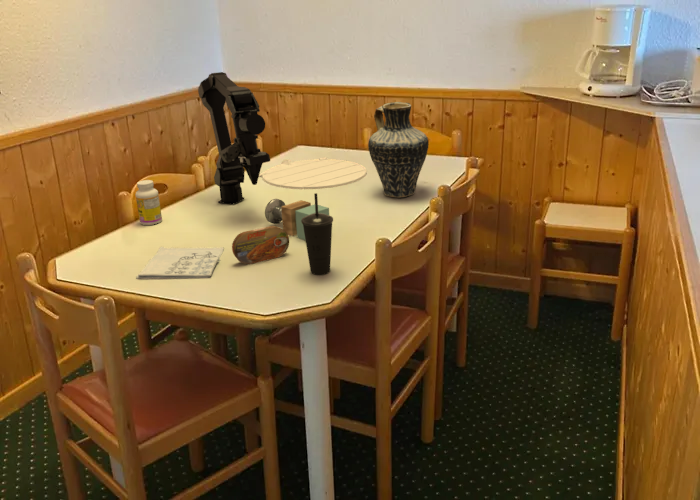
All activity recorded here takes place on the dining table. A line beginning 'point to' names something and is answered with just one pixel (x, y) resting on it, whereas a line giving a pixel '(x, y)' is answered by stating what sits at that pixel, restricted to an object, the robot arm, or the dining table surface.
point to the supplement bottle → (148, 203)
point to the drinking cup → (318, 240)
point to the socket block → (305, 212)
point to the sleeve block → (292, 216)
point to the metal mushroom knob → (274, 211)
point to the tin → (260, 244)
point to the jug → (397, 149)
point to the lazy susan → (313, 173)
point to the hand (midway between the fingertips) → (254, 184)
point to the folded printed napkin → (182, 263)
